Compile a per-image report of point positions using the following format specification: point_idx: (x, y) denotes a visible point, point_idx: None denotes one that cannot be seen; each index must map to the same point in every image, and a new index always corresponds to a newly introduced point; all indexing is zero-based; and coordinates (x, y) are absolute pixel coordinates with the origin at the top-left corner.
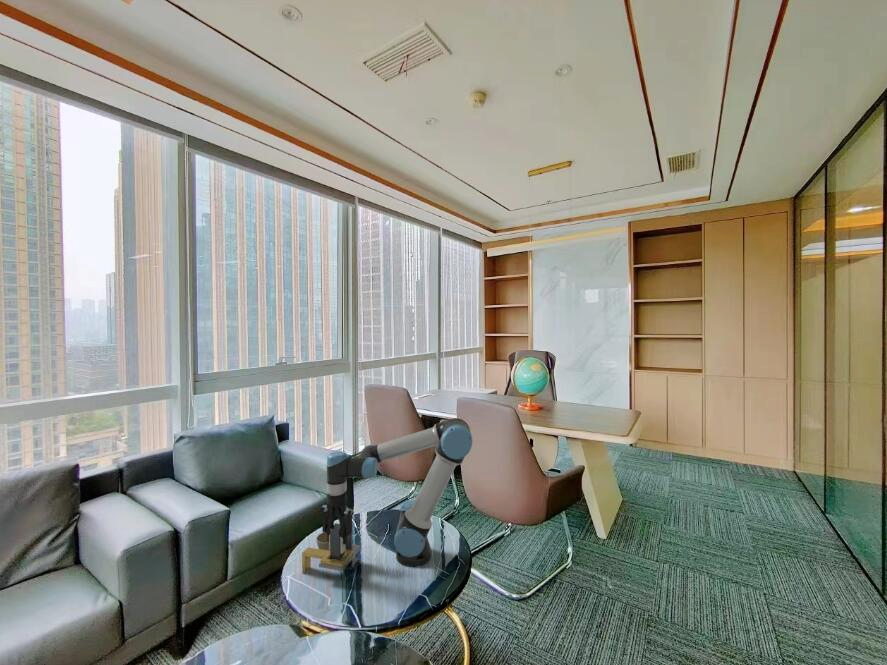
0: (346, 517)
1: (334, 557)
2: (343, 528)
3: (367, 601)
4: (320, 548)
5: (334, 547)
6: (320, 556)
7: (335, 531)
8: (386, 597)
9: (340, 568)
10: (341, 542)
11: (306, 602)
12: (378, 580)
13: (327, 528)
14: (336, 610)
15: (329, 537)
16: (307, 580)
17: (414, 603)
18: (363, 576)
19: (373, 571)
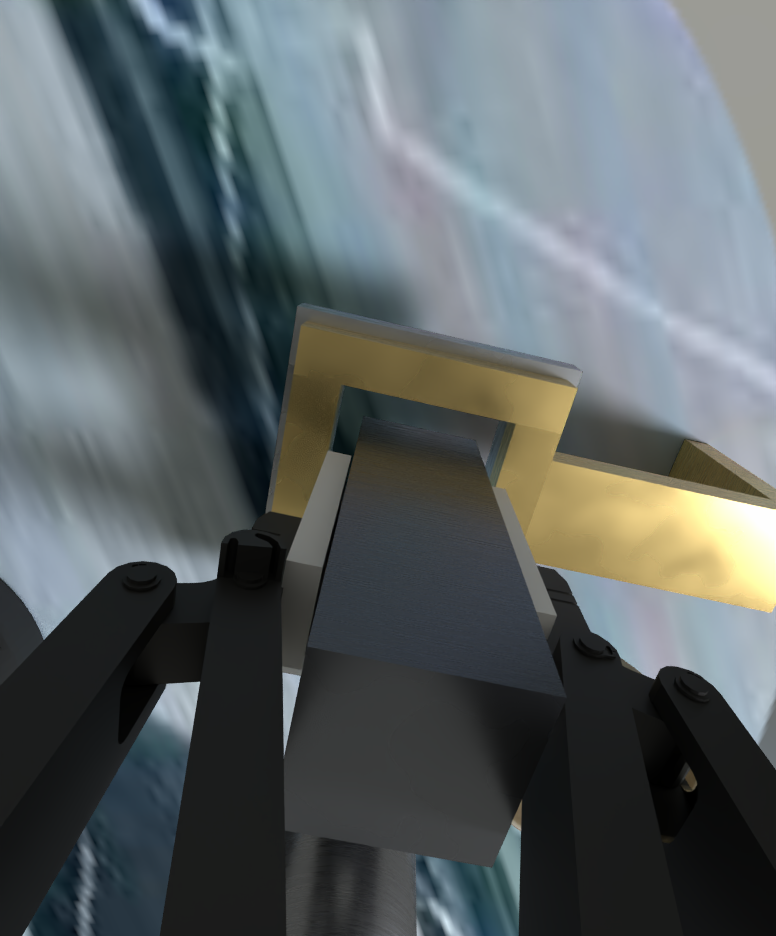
0: None
1: (424, 435)
2: (201, 683)
3: (37, 95)
4: (628, 667)
5: (427, 483)
6: (596, 469)
7: (412, 629)
8: None
9: (320, 309)
10: (314, 516)
11: (579, 52)
12: (61, 373)
13: (632, 721)
14: None
15: (537, 589)
16: (642, 356)
17: None
18: (198, 417)
19: (143, 477)
